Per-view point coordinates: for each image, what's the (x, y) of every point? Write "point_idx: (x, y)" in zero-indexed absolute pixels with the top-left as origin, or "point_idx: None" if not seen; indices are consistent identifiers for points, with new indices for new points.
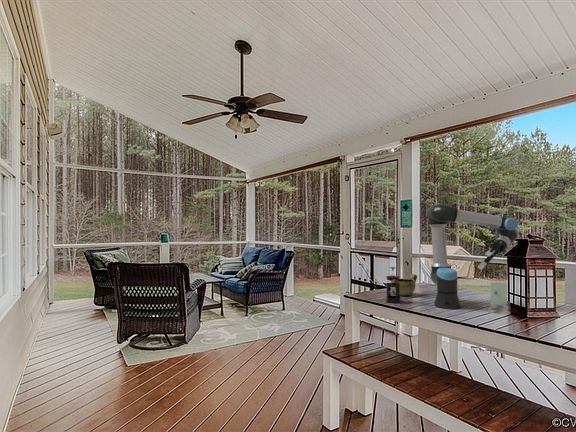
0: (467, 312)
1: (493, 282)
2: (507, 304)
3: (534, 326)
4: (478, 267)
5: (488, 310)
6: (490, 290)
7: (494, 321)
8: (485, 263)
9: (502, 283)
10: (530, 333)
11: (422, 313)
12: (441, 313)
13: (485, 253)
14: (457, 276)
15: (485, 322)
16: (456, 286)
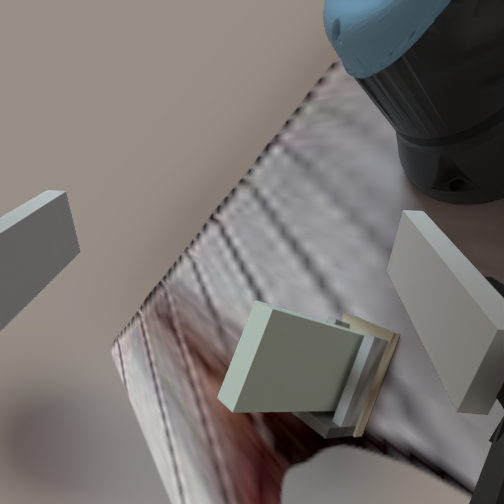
0: (349, 220)
1: (249, 319)
2: (332, 421)
3: (191, 377)
4: (402, 229)
5: (345, 313)
6: (302, 315)
7: (239, 280)
8: (457, 373)
9: (230, 374)
10: (160, 323)
11: (329, 71)
12: (331, 126)
13: (48, 192)
14: (375, 72)
15: (233, 249)
16: (390, 115)
